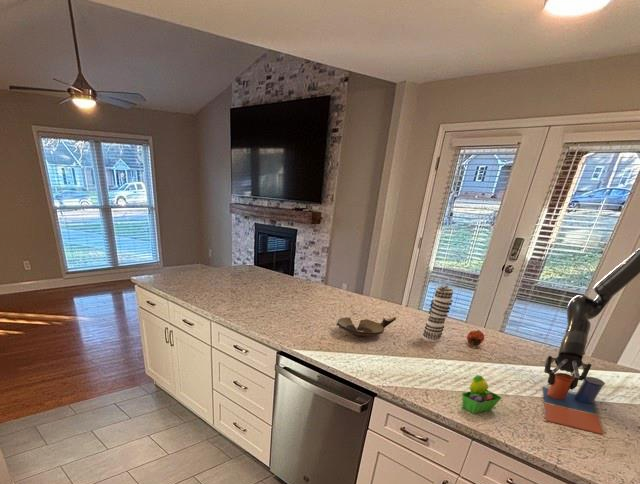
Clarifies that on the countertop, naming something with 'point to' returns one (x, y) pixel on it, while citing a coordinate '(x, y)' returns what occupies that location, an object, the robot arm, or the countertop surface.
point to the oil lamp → (364, 326)
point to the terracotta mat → (573, 418)
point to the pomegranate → (475, 337)
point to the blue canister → (589, 390)
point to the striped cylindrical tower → (438, 313)
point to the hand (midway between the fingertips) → (561, 386)
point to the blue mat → (569, 402)
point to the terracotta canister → (560, 386)
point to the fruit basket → (479, 396)
